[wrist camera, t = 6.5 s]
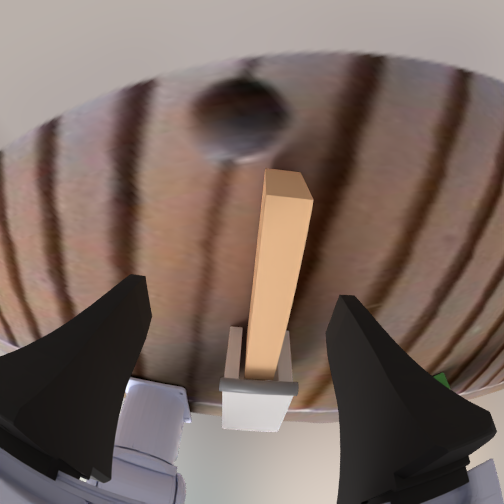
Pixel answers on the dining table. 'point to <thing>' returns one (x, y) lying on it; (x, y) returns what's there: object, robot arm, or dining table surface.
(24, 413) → the robot arm
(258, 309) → the tan rectangular bar
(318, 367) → the dining table surface
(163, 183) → the dining table surface
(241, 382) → the box
